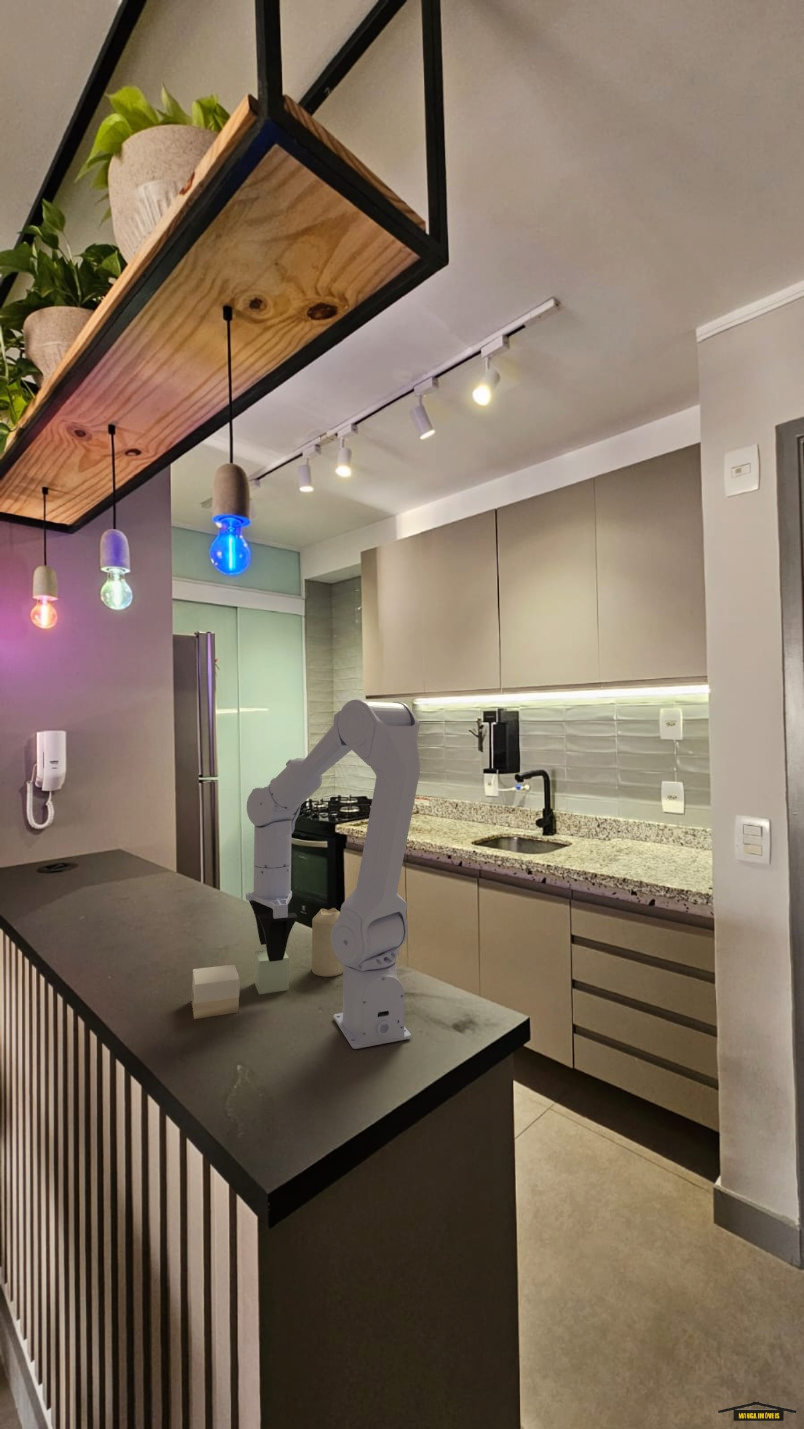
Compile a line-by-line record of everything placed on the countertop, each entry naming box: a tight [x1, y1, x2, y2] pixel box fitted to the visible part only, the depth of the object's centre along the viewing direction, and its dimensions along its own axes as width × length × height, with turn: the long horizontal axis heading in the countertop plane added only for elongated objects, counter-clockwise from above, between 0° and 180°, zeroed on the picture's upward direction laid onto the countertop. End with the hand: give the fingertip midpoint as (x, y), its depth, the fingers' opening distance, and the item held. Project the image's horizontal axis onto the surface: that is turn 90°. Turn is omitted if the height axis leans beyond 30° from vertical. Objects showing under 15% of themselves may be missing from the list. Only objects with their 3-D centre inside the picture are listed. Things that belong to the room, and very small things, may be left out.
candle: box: [311, 907, 343, 978], centre depth 105 cm, size 6×6×10 cm
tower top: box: [192, 964, 241, 1003], centre depth 92 cm, size 6×6×2 cm
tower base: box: [190, 986, 240, 1020], centre depth 91 cm, size 6×6×2 cm
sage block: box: [254, 949, 290, 995], centre depth 99 cm, size 4×4×5 cm
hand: (271, 951), depth 99 cm, fingers open, 7 cm apart
